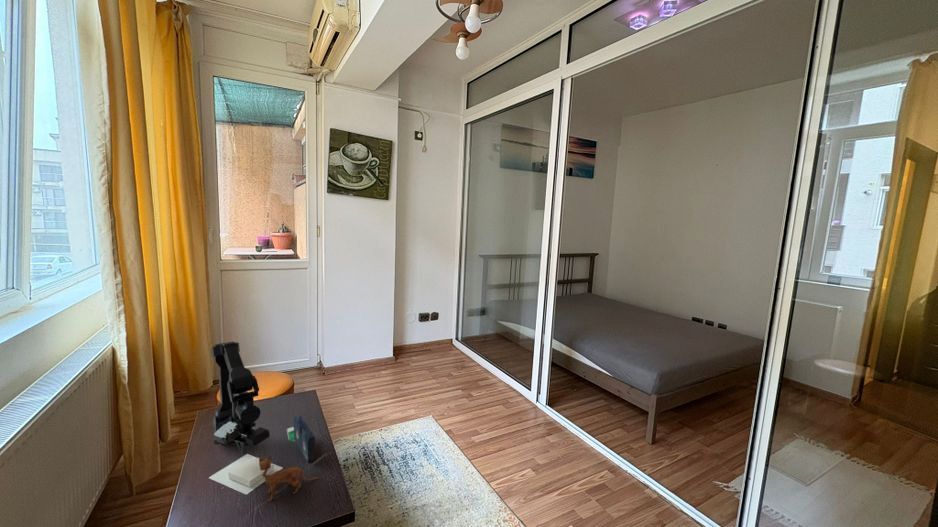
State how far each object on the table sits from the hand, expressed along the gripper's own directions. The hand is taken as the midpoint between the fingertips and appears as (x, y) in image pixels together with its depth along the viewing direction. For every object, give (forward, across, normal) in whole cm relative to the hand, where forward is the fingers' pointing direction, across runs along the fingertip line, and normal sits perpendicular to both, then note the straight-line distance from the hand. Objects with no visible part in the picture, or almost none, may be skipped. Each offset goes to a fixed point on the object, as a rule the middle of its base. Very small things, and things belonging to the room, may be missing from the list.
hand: (243, 454), depth 125 cm
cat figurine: (+8, +20, +1) cm, 22 cm away
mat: (+7, +1, 0) cm, 7 cm away
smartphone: (+8, -1, +24) cm, 25 cm away
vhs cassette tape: (+8, +8, +18) cm, 21 cm away
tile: (+5, -1, 0) cm, 5 cm away
